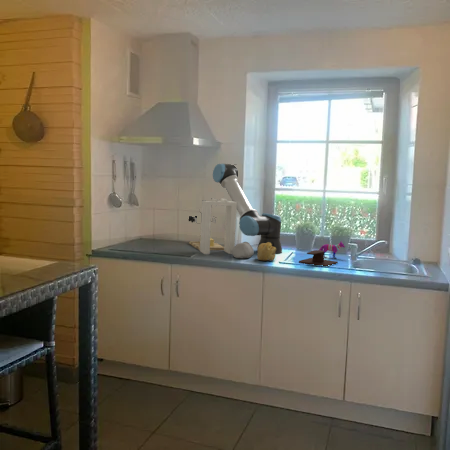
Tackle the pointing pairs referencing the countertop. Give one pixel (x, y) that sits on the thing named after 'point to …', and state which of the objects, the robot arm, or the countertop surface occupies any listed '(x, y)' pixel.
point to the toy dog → (331, 248)
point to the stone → (266, 252)
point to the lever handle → (317, 259)
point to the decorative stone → (242, 250)
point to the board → (215, 247)
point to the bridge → (229, 224)
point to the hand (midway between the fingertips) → (206, 220)
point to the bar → (211, 242)
